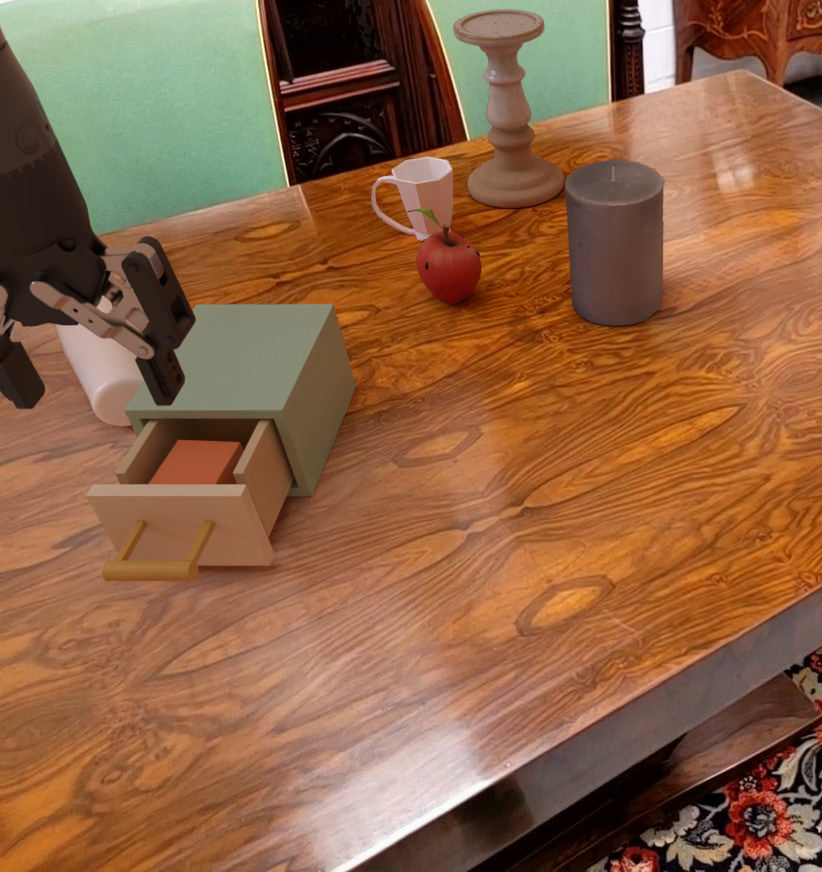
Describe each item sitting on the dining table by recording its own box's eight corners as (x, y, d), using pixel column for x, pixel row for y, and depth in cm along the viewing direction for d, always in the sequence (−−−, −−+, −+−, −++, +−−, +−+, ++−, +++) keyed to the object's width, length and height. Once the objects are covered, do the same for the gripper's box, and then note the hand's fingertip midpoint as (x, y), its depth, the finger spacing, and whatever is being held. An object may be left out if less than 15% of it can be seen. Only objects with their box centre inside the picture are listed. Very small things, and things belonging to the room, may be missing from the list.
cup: (457, 248, 108) (446, 183, 103) (371, 247, 108) (357, 183, 103) (467, 219, 113) (458, 155, 108) (386, 218, 114) (373, 155, 108)
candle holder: (495, 218, 113) (473, 48, 100) (452, 181, 121) (426, 18, 108) (582, 192, 118) (572, 26, 105) (536, 157, 126) (521, -1, 113)
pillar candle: (564, 284, 102) (554, 153, 92) (651, 272, 103) (649, 141, 94) (582, 334, 95) (573, 197, 85) (675, 319, 96) (677, 183, 86)
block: (171, 530, 72) (147, 483, 68) (199, 485, 76) (178, 439, 72) (233, 533, 71) (213, 486, 68) (258, 488, 75) (240, 441, 72)
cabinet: (312, 496, 77) (282, 409, 71) (165, 496, 78) (123, 410, 72) (356, 386, 89) (333, 303, 82) (228, 386, 89) (196, 304, 83)
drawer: (246, 621, 67) (213, 551, 62) (93, 620, 67) (48, 551, 62) (319, 446, 81) (297, 378, 76) (192, 446, 81) (162, 378, 76)
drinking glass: (136, 446, 86) (102, 358, 94) (185, 393, 85) (146, 309, 94) (65, 417, 80) (36, 326, 89) (117, 360, 80) (82, 275, 89)
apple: (491, 280, 103) (479, 196, 96) (481, 314, 97) (468, 228, 91) (421, 280, 103) (405, 196, 96) (408, 314, 98) (390, 228, 91)
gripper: (142, 114, 50) (236, 361, 60) (-122, 121, 50) (18, 366, 60) (78, 176, 44) (194, 437, 55) (-220, 184, 44) (-47, 442, 55)
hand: (101, 399), depth 58 cm, fingers open, 8 cm apart
